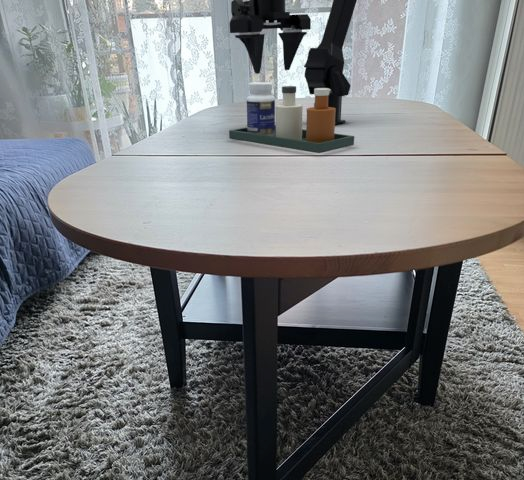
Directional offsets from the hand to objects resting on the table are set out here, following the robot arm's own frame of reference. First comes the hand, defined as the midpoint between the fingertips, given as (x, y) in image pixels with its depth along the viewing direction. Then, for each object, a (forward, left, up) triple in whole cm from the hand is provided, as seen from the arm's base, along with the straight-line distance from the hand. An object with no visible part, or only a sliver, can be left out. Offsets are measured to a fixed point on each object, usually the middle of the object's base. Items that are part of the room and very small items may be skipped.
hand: (272, 71), depth 108 cm
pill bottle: (+9, +6, -11) cm, 16 cm away
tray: (+9, +14, -12) cm, 20 cm away
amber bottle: (+9, +22, -11) cm, 26 cm away
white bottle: (+9, +14, -11) cm, 20 cm away
